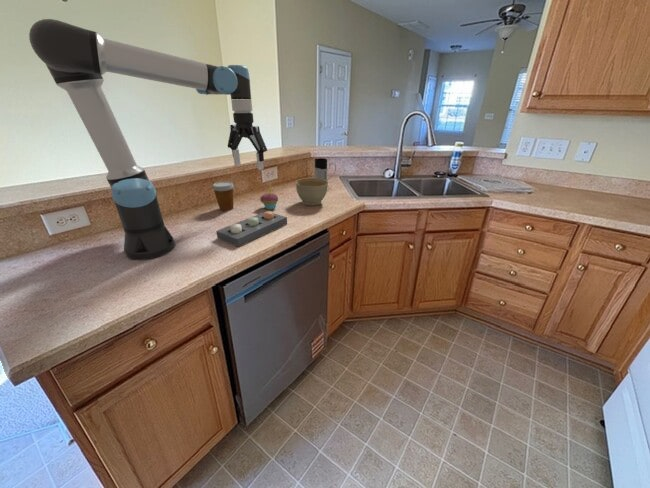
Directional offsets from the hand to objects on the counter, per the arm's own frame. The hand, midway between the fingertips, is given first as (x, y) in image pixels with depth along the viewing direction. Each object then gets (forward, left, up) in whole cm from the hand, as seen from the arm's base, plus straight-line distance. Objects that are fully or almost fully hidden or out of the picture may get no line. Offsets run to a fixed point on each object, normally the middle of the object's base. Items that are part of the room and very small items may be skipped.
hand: (248, 167), depth 120 cm
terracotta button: (-4, -14, -20) cm, 24 cm away
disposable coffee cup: (-2, +16, -22) cm, 27 cm away
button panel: (-12, -14, -21) cm, 28 cm away
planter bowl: (+29, -12, -22) cm, 38 cm away
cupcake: (+11, 0, -22) cm, 24 cm away
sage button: (-12, -14, -20) cm, 27 cm away
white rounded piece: (-21, -14, -20) cm, 32 cm away
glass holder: (+62, +3, -22) cm, 65 cm away
